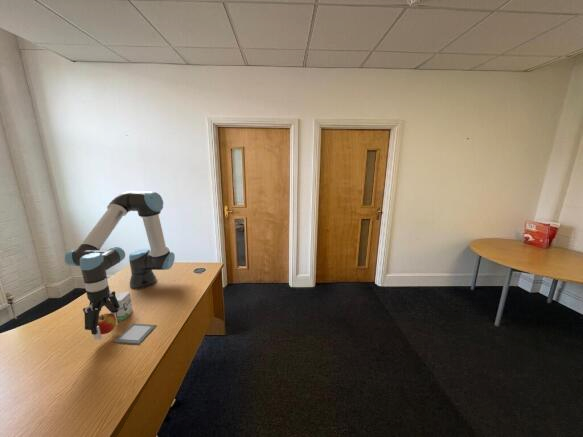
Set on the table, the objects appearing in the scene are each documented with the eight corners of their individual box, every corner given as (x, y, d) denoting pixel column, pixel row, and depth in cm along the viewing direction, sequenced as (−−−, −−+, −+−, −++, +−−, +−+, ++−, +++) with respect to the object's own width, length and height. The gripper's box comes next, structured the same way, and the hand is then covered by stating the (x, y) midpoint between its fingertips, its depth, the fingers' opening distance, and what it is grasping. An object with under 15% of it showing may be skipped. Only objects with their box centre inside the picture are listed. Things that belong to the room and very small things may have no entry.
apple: (121, 324, 108) (117, 306, 105) (111, 337, 100) (107, 318, 98) (101, 326, 106) (98, 308, 103) (91, 339, 98) (86, 320, 96)
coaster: (133, 324, 113) (133, 323, 113) (156, 325, 112) (156, 324, 112) (113, 342, 101) (113, 341, 101) (139, 344, 101) (139, 343, 100)
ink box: (124, 320, 115) (121, 300, 113) (113, 321, 115) (110, 301, 112) (133, 310, 124) (130, 291, 121) (123, 310, 123) (120, 291, 120)
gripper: (109, 275, 108) (117, 315, 113) (64, 302, 87) (76, 349, 93) (124, 276, 107) (131, 316, 113) (82, 303, 87) (93, 350, 93)
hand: (106, 331), depth 103 cm, fingers closed on apple, 8 cm apart
